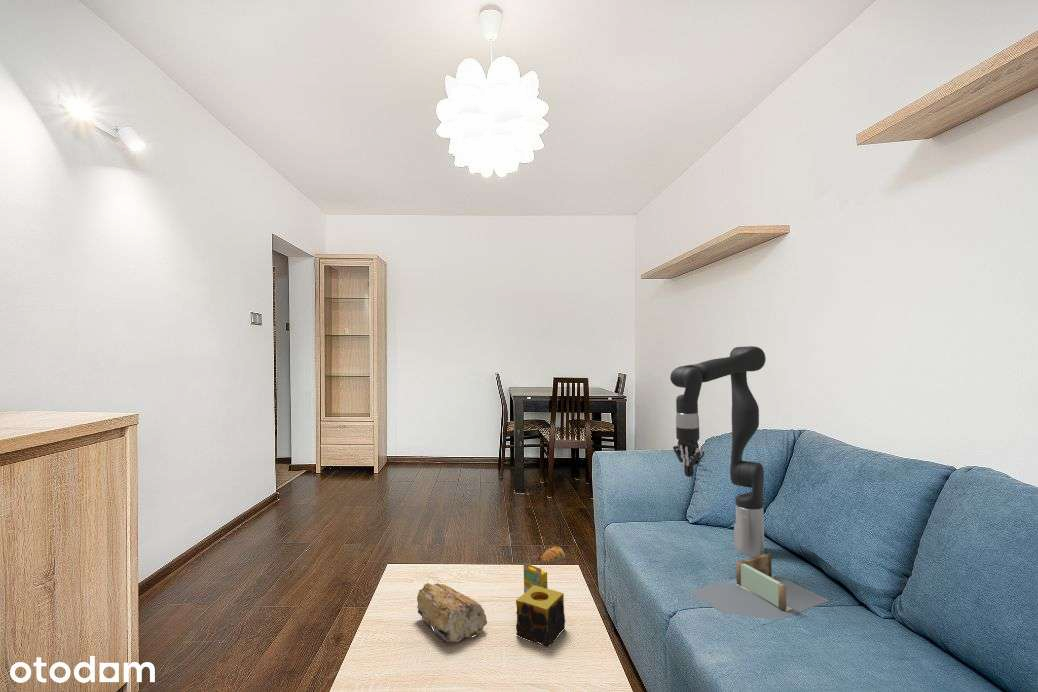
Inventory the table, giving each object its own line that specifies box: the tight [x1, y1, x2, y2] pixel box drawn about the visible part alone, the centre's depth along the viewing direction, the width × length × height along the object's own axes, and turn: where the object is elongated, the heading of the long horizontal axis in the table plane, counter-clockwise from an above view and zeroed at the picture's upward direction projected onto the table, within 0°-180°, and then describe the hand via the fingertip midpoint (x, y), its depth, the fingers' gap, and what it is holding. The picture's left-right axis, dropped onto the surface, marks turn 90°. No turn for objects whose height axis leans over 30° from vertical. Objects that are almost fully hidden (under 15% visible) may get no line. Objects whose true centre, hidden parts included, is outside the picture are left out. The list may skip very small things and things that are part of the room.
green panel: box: [735, 560, 786, 610], centre depth 151 cm, size 18×2×7 cm, turn 19°
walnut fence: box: [741, 552, 773, 577], centre depth 162 cm, size 12×2×7 cm, turn 115°
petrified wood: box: [416, 582, 488, 643], centre depth 140 cm, size 19×13×10 cm
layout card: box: [688, 574, 831, 621], centre depth 151 cm, size 23×33×1 cm
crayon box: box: [523, 562, 549, 594], centre depth 152 cm, size 7×3×12 cm, turn 47°
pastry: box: [540, 546, 566, 565], centre depth 181 cm, size 9×7×4 cm
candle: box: [515, 585, 566, 648], centre depth 136 cm, size 10×10×10 cm
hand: (689, 476), depth 171 cm, fingers closed
